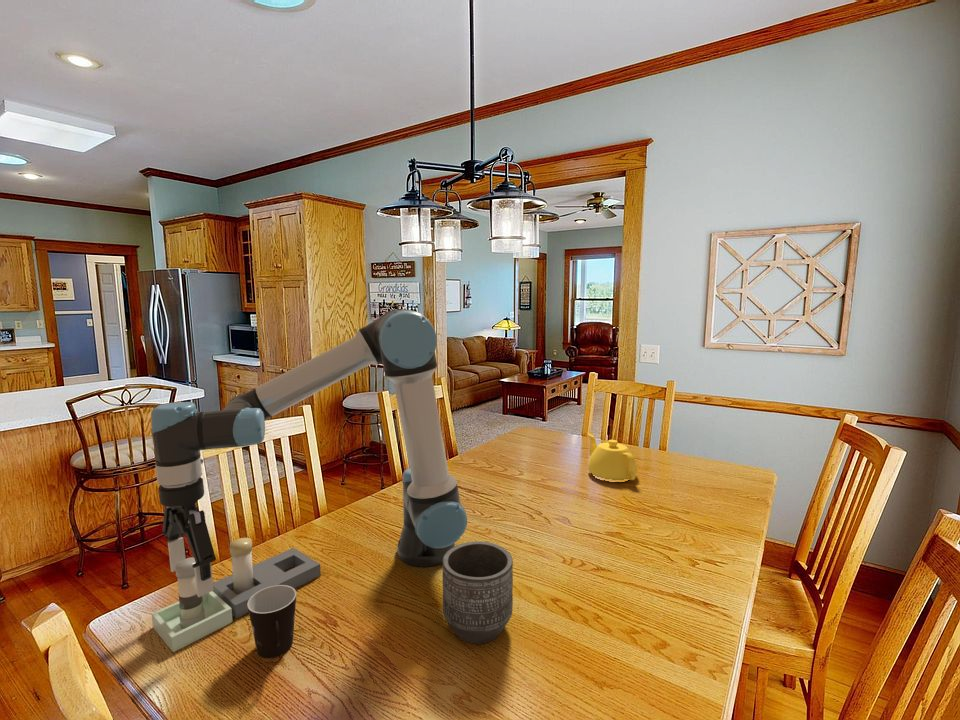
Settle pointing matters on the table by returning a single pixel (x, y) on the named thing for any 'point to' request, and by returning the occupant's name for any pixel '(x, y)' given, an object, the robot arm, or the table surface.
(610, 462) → the teapot
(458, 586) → the planter
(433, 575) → the table surface
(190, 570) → the cylinder
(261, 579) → the grey socket holder
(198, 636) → the parts tray
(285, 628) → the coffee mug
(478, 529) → the table surface
